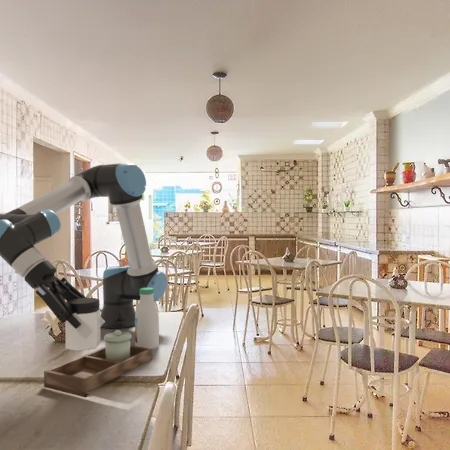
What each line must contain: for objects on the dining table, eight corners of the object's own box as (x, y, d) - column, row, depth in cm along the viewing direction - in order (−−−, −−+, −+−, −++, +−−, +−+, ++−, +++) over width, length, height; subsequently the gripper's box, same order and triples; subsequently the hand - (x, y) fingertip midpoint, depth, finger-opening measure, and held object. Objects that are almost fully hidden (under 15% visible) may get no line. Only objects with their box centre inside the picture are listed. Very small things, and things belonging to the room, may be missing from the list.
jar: (69, 353, 105) (69, 305, 105) (61, 345, 112) (61, 299, 111) (105, 347, 110) (105, 301, 110) (95, 339, 117) (95, 296, 116)
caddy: (115, 355, 132) (115, 342, 132) (152, 362, 126) (152, 348, 126) (44, 386, 108) (44, 371, 108) (85, 397, 102) (84, 380, 102)
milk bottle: (163, 347, 140) (163, 287, 140) (150, 354, 133) (149, 291, 133) (144, 344, 144) (144, 285, 143) (130, 350, 137) (129, 289, 136)
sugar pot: (116, 356, 128) (116, 325, 128) (136, 360, 125) (136, 328, 124) (98, 364, 121) (98, 331, 121) (119, 369, 118) (119, 334, 118)
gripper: (43, 273, 122) (99, 329, 122) (2, 285, 100) (69, 353, 100) (62, 255, 121) (117, 310, 121) (24, 263, 100) (91, 331, 100)
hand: (95, 330), depth 111 cm, fingers closed on jar, 9 cm apart
